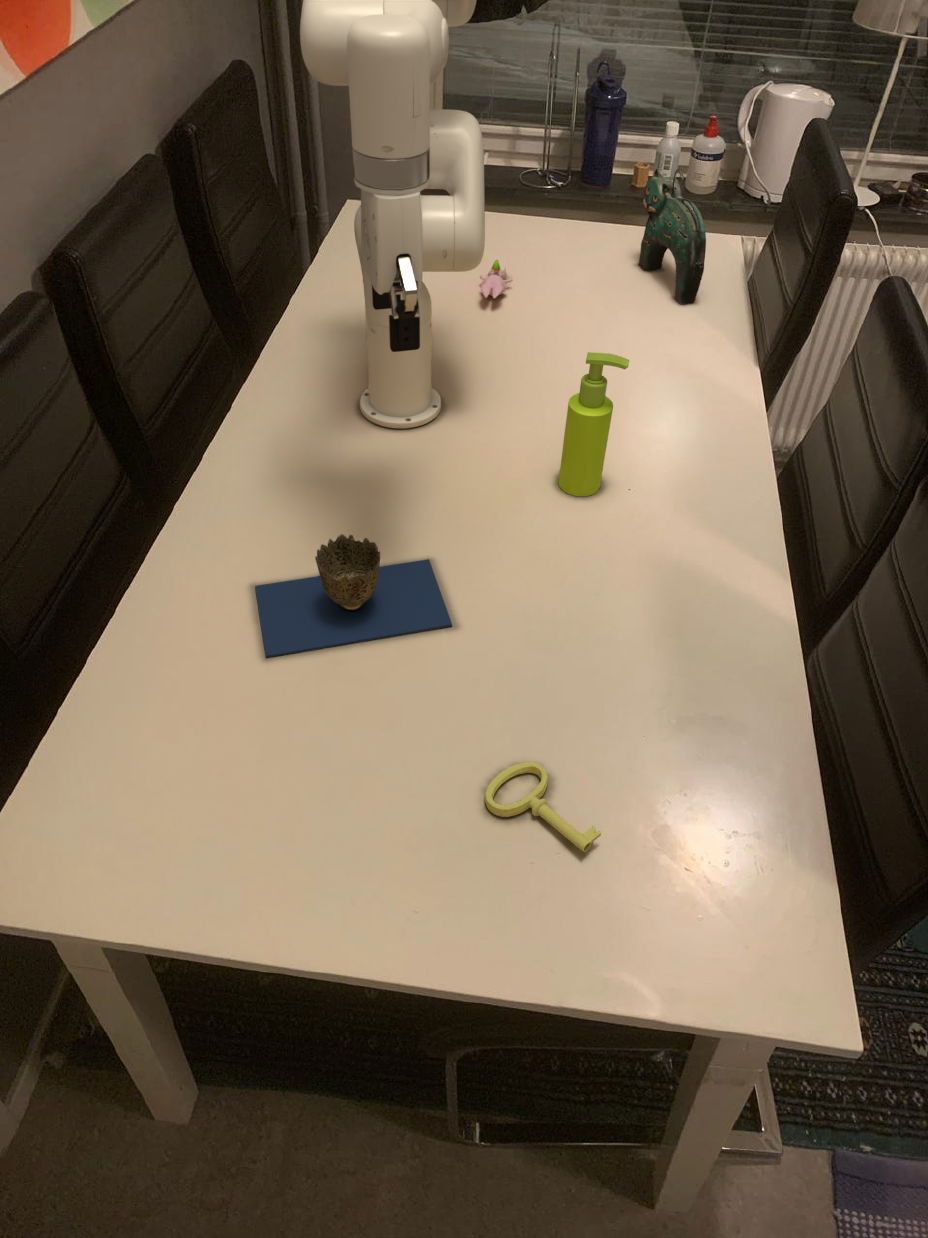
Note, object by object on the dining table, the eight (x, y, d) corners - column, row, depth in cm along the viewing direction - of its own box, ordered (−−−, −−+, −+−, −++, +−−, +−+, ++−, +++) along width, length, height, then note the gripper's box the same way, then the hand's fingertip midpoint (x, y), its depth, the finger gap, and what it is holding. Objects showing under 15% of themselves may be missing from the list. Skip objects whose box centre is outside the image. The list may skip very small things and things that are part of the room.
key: (588, 863, 87) (591, 851, 86) (476, 806, 91) (476, 794, 90) (617, 807, 92) (620, 795, 90) (509, 756, 96) (510, 744, 94)
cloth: (255, 588, 113) (254, 585, 112) (429, 561, 117) (429, 559, 117) (266, 658, 104) (265, 655, 104) (452, 626, 109) (452, 624, 109)
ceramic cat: (629, 261, 181) (646, 154, 167) (658, 258, 183) (678, 152, 169) (674, 307, 168) (697, 195, 154) (706, 303, 170) (731, 192, 155)
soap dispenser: (605, 500, 127) (627, 371, 113) (555, 493, 128) (572, 364, 114) (608, 475, 131) (631, 348, 117) (561, 468, 132) (577, 341, 118)
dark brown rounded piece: (392, 592, 112) (390, 542, 106) (368, 632, 107) (365, 582, 102) (336, 577, 114) (332, 527, 108) (310, 616, 109) (304, 566, 103)
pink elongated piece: (481, 282, 176) (472, 305, 164) (483, 249, 172) (473, 271, 160) (513, 285, 176) (506, 308, 163) (516, 252, 172) (509, 274, 160)
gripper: (339, 138, 95) (349, 295, 107) (370, 202, 83) (377, 371, 95) (409, 134, 96) (411, 290, 108) (450, 196, 85) (447, 363, 97)
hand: (395, 327), depth 102 cm, fingers open, 9 cm apart
